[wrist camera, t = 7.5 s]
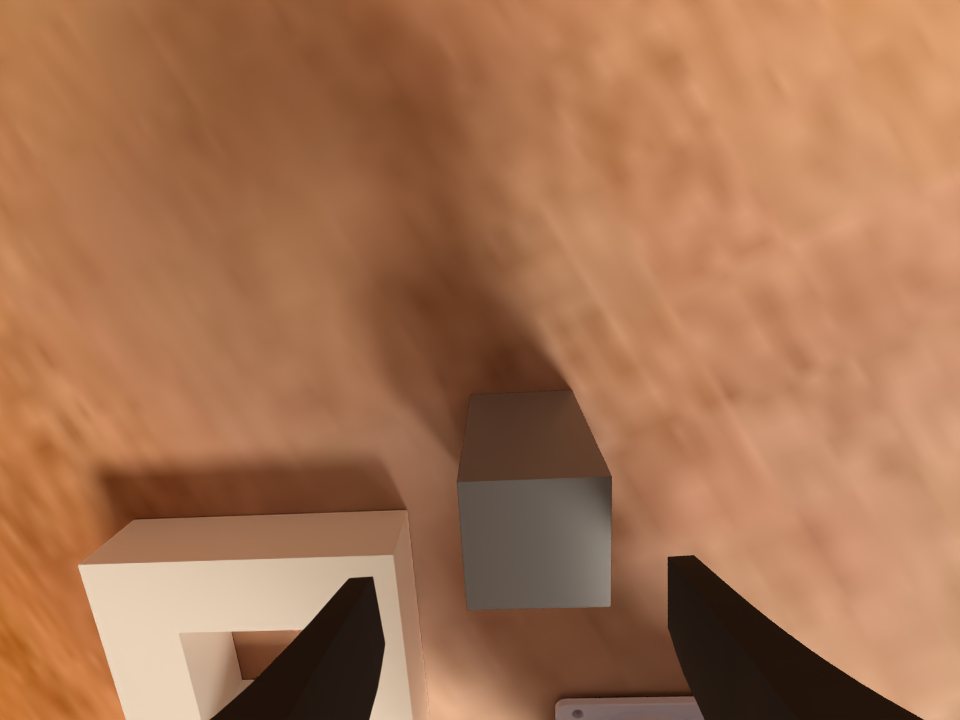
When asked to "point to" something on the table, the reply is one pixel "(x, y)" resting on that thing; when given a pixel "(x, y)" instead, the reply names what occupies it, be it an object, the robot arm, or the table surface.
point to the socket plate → (245, 603)
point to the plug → (533, 504)
